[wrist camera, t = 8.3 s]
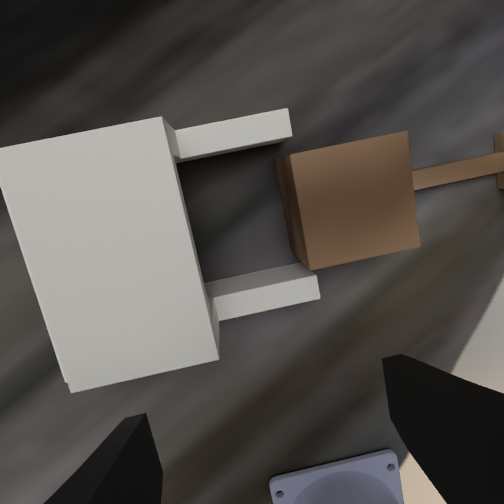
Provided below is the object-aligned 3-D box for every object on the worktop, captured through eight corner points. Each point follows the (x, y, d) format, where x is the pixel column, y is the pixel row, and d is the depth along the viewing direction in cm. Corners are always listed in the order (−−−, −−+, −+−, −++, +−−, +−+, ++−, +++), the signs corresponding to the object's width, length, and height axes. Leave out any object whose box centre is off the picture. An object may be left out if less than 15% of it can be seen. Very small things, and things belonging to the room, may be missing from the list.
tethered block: (549, 195, 22) (656, 201, 17) (291, 251, 21) (315, 276, 16) (545, 103, 21) (658, 78, 16) (274, 159, 20) (294, 153, 15)
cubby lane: (306, 282, 22) (347, 330, 15) (107, 325, 21) (54, 396, 14) (277, 118, 20) (308, 87, 13) (59, 161, 19) (-28, 153, 13)
